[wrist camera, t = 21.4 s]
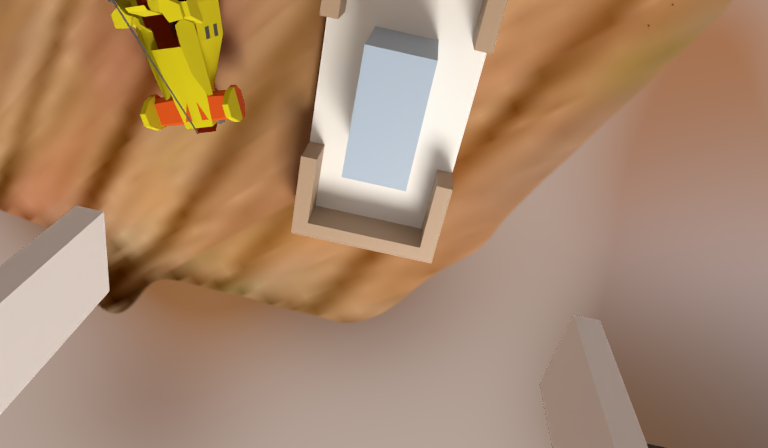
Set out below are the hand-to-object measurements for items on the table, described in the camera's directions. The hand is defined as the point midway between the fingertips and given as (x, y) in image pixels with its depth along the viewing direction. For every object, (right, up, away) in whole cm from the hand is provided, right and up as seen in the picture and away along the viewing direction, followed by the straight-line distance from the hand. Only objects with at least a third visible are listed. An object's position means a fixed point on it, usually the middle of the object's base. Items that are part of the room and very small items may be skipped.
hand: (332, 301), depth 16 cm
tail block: (+2, +12, +25) cm, 28 cm away
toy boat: (-13, +19, +24) cm, 33 cm away
